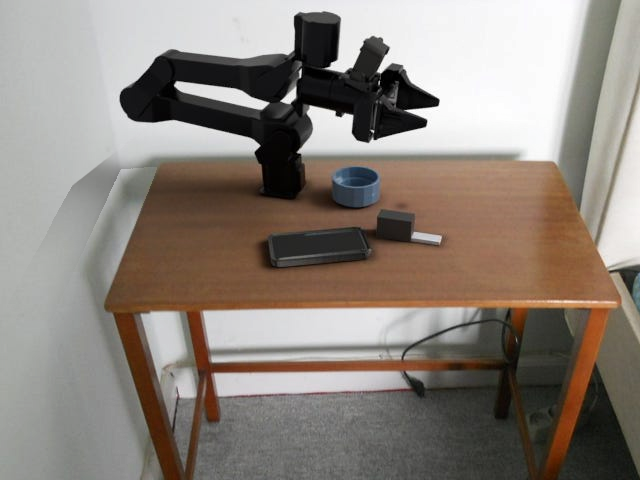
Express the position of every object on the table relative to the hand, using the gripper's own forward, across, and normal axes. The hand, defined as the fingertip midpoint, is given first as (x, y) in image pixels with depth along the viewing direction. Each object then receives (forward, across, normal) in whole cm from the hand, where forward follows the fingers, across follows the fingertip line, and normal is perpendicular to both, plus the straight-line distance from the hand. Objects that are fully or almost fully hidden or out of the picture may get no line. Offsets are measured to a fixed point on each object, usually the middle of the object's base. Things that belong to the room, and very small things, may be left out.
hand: (433, 112), depth 101 cm
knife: (+1, -8, +17) cm, 19 cm away
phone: (-11, -16, +18) cm, 27 cm away
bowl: (-11, +1, +18) cm, 21 cm away
